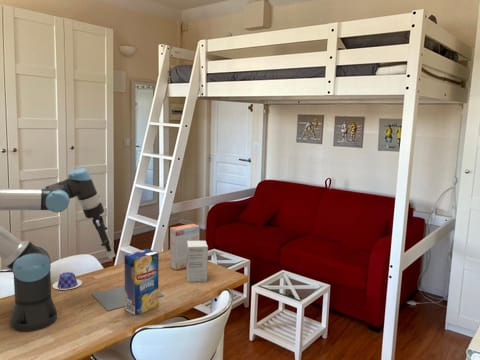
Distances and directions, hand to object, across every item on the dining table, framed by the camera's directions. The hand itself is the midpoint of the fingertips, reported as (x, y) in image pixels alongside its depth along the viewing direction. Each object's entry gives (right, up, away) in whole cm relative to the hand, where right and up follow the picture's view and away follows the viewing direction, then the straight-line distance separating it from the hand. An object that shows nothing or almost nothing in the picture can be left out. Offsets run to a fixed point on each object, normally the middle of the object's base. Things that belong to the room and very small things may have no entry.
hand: (110, 250), depth 170 cm
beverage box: (+16, -21, -10) cm, 28 cm away
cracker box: (+26, -14, +36) cm, 46 cm away
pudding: (-22, -17, +9) cm, 29 cm away
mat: (+7, -19, 0) cm, 20 cm away
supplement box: (+34, -17, +21) cm, 43 cm away
